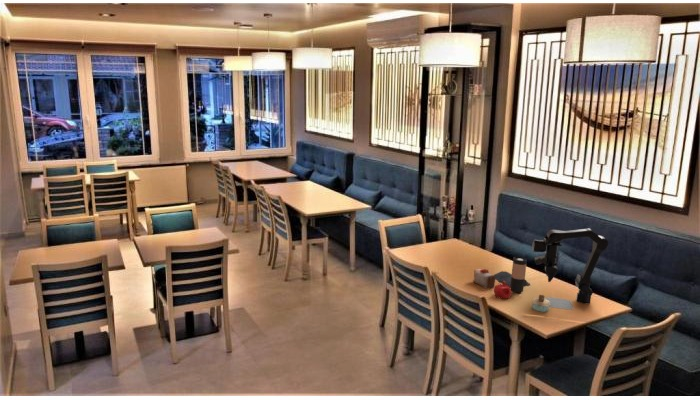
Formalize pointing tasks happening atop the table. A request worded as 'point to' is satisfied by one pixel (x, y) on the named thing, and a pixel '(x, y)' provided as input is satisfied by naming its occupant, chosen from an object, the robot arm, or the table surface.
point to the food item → (484, 278)
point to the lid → (541, 301)
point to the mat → (560, 303)
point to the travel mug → (518, 274)
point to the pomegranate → (502, 290)
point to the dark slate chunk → (506, 278)
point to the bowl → (540, 308)
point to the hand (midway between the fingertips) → (548, 279)
